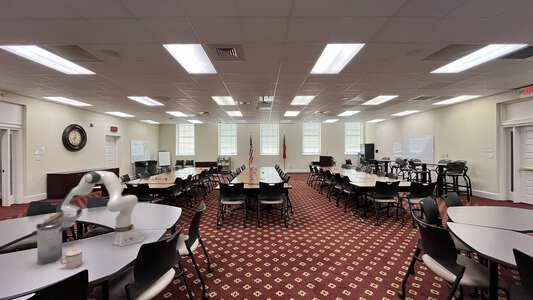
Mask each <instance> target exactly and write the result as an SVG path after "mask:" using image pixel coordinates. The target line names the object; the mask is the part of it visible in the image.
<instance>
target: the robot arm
mask: <svg viewBox="0 0 533 300" xmlns="http://www.w3.org/2000/svg"><path fill="white" fill-rule="evenodd" d="M121 182H122V181H120V179H119V177H118V176H117V175H116V174H115V172H112V171H108V170H95V171H89V172H87V173H85V174H84V175H83V177H82V178H81V179H80V182H79V183H78V185H77V186H76V187H75V186H74V187H73V188H71V189H70V190H69V191H68V193H67V194H66V196H65V197H64V198H63V199H62V201H61V202H60V203H59V204H58V205H57V206H56V208H55V211H56V213H57V212H58V210H62V211H63V213H62V216H61V217H60V218H59V219H58V220H57V221H62V222H63V224H62V227H66V228H70V227H72V226H73V225H74V224H75V222H76V221H77V220H79V219H80V217H81V216H82V215H83V209H82V207H79V206H76V205H73V204H71V203H70V202H71V200H72V199H73V197H74V196H86V195H89V194H91V193H92V191H93V190H94V188H95V185H96V184H98V185H99V184H104V186H105V189H106V190H107V193H108V195H109V200H108V201H107V205H106V207H107V208H106V209H107V210H108V211H109V212H110V213H115V212H119V213H118V214H117V215H116V216H115V226H114V233H115V234H114V235H115V237H114V241H113V245H114V246H119V247H124V246H128V245H133V244H137V243H138V244H139V243H141V242H143V241H144V240H145V238H144V235H142V234H141V231H140V230H138V229H136V228H135V225H134V224H133V223H131V222H132V214H133V210H134V208H135V206H137V204H138V200H139V199H138V197H137V196H136V195H134V194H128V195H124V196H123V194H122V193H123V191H124V186H123V185H122V183H121ZM56 213H52V214H47V215H44V217H43V220H44V221H43V222H45V221H46V220H48V219H49V218H51V217H52V216H53V215H55V214H56Z"/></svg>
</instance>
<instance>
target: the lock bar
mask: <svg viewBox="0 0 533 300" xmlns="http://www.w3.org/2000/svg"><path fill="white" fill-rule="evenodd" d="M62 213H63V211H62V210H58V212H57V211H56V213H54V214H55V215H53V214H52V215H53V216H52V217H51V218H49V219H48V220H47V221H44V222H45V226H51V222H52V221H54V220H55V219H57V220H58V219H59V218H60V217H61V216H62Z"/></svg>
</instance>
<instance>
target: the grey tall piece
mask: <svg viewBox="0 0 533 300" xmlns="http://www.w3.org/2000/svg"><path fill="white" fill-rule="evenodd" d="M46 221H47V220H46ZM62 224H63V222H62V221H57V219H55V220H54V221H52V222H51V226H45V221H43V222H42V223H37V224H36V226H35V229H36V230H34V231H32V233H31V234H32V235H36V240H37V241H36V243H37V250H36V251H37V265H40V266H43V265H50V264H53V263H56V262H58V261H59V262H60V259H61V258H62V257H63V232H64V231H66V230H67V227H63V226H62ZM61 260H62V259H61Z"/></svg>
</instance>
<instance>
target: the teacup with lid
mask: <svg viewBox="0 0 533 300" xmlns="http://www.w3.org/2000/svg"><path fill="white" fill-rule="evenodd" d="M64 255H65V256H62V258H61V259H60V260H59V263H60V265H65V268H66V269H74V268H78V267H80V266H81V265H82V264H83V250H82V249H80V248H79V249H77V248H75V247H74V248H72V250H70V251H68V252H66V253H65V254H64ZM63 259H65V262H63V261H62V260H63Z"/></svg>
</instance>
